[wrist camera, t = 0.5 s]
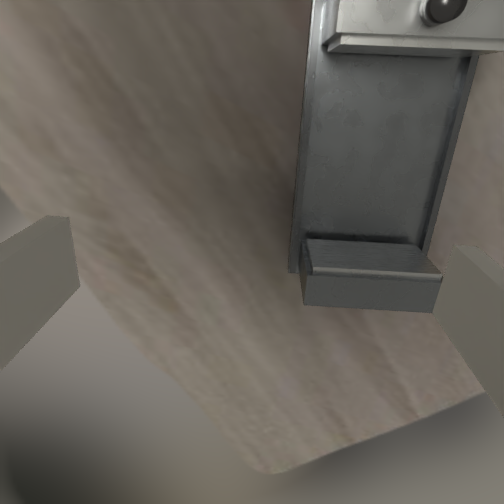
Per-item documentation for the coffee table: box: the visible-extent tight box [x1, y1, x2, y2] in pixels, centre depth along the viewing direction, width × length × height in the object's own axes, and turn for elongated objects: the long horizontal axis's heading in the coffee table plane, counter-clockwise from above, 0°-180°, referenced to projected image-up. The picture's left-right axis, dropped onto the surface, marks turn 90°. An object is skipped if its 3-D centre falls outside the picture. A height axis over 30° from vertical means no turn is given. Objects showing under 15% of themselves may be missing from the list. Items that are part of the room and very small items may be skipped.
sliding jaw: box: [321, 0, 504, 58], centre depth 26 cm, size 4×12×10 cm, turn 88°
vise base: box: [288, 0, 479, 313], centre depth 32 cm, size 26×14×10 cm, turn 178°
